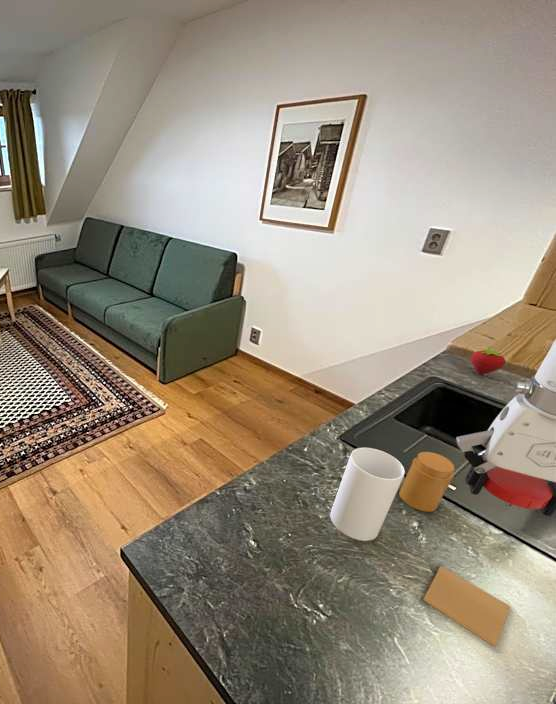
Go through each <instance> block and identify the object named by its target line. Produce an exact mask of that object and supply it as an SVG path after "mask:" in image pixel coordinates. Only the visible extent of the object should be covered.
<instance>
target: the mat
mask: <svg viewBox="0 0 556 704" xmlns="http://www.w3.org/2000/svg"><path fill="white" fill-rule="evenodd" d="M422 601H423V602H425V603H427V604H428V605H429V606H431V607H432V608H434V609H436V610H437V611H439V612H440V613H441V614H443V615H445V616H446V617H447V618H450V619H451V620H452V621H454V622H456V623H457V624H459V625H461V626H462V627H463V628H465V629H467V630H469V631H470V632H471V633H473V634H474V635H476V636H478V637H479V638H480V639H482V640H484V642H487V643H488V644H490V645H491V646H493V647H494V648H496V647H497V645H498V642H499V640H500V636H501V634H502V631H503V628H504V625H505V622H506V619H507V616H508V613H509V611H510V608H511V605H509V604H507V603H506V602H504V601H502V600H500V599H499V598H497V597H496V596H493V595H492V594H490V593H488V592H487V591H485V590H484V589H482V588H480V587H478V586H476V585H474V584H473V583H471V582H469V581H468V580H466V579H464V578H463V577H461V576H459V575H458V574H456V573H454V572H452V571H450V570H449V569H448V568H445V567H443V566H442V565H440V567H439V568H438V569H437V572H436V574H435V576H434V578H433V579H432V581H431V583H430V585H429V587H428V589H427V591H426V592H425V594H424V597H423V599H422Z"/></svg>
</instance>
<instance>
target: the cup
mask: <svg viewBox="0 0 556 704" xmlns="http://www.w3.org/2000/svg"><path fill="white" fill-rule="evenodd" d="M405 473H406V472H405V467H404V466H403V464H402V463H401V462H400V461H399V460H398V459H397V458H396V457H395V456H392V455H391V454H389V453H387V452H385V451H383V450H379V449H377V448H372V447H357V448H355V449H353V451H351V453H350V455H349V458H348V460H347V463H346V466H345V469H344V472H343V475H342V478H341V481H340V484H339V487H338V489H337V493H336V496H335V498H334V501H333V504H332V507H331V510H330V514H329V518H330V521H331V522H332V525H334V527H335V528H336V529H337V530H338V531H339V532H341V533H342V534H343V535H345V536H347V537H349V538H351V539H353V540H357V541H364V542H368V541H369V542H370V541H373V540H374V539H376V538H377V537H378V535H379V534H380V531H381V529H382V526H383V524H384V522H385V519H386V517H387V515H388V513H389V511H390V509H391V506H392V503H393V502H394V499H395V497H396V496H397V495H396V494H397V492H398V490H399V489H400V487H401V486H400V485H402V481H403V480H404V476H405Z"/></svg>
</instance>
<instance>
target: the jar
mask: <svg viewBox="0 0 556 704" xmlns="http://www.w3.org/2000/svg"><path fill="white" fill-rule="evenodd" d="M455 470H456V469H455V465H454V464H453V462H452V461H451V460H450V459H449V458H447V457H445V456H443V455H442V454H440V453H435V452H431V451H421V452H419V453H418V454H417V457H415V458H413V459H412V462H411V465H410V467H409V468H408V471H407V473H406V476H405V478H404V479H403V482H402V483H401V486H400V488H399V491H398V494H399V497H400V499H401V500H402V502H404V503H405V504H406V505H407V506H409V507H411V508H413V509H415V510H418V511H420V512H427V513H429V512H434V511H436V510H438V509H437V508H438V507H439V505H440V503H441V501H442V499H443V497H444V495H446V491H447V490H448V488H449V486H450V484H451V482H452V480H453V478H454V476H455V474H454V472H455Z"/></svg>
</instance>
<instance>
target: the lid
mask: <svg viewBox="0 0 556 704" xmlns="http://www.w3.org/2000/svg"><path fill="white" fill-rule="evenodd" d="M487 474H488V479H487V480H486V482H485V484H484V486H483V488H484V489H485V490H486V491H487V492H489V493H490V494H491V495H492V496H494V497H496V498H497V499H499V500H501V501H503V502H505V503H508V504H510V505H512V506H515V507H519V508H522V509H527V510H539V509H540V510H541V509H542V508H543V507H545V506H546V504H547V503H548V502H549V501H550V499H551V498H552V496H553V491H552V489H551V487H550V486H549V485H548V482H547V481H546V480H544V479H540V478H536V477H532V476H528V475H525V474H521V473H517V472H513V471H510V470H506V469H503V468H499V467H495V468H493V469H491V470H489V471H487Z"/></svg>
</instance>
